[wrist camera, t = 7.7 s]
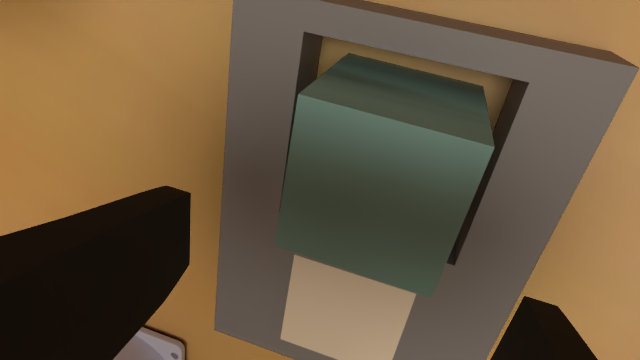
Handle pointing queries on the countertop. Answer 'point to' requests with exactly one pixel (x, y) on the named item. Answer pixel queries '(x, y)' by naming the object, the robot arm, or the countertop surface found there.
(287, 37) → the frame
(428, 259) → the block
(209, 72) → the countertop surface
